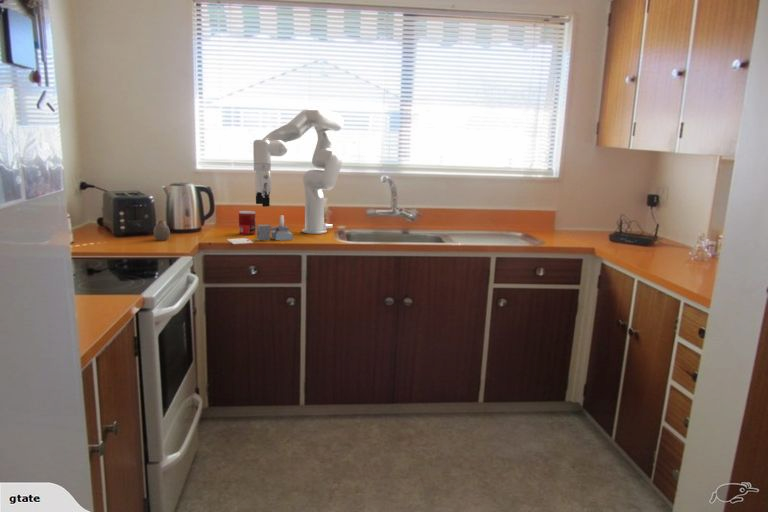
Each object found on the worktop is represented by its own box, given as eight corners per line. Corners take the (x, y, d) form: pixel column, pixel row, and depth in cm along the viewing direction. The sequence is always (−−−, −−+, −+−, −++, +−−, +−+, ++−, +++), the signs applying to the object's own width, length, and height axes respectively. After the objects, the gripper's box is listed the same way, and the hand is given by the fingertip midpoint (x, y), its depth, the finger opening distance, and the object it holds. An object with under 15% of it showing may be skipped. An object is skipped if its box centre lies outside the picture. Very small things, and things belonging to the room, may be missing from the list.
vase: (150, 240, 249) (149, 220, 247) (162, 238, 255) (161, 219, 253) (161, 241, 246) (160, 222, 244) (173, 239, 252) (172, 220, 250)
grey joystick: (287, 237, 267) (287, 214, 265) (292, 239, 261) (292, 216, 259) (271, 238, 263) (271, 215, 261) (276, 240, 257) (276, 217, 255)
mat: (246, 238, 259) (246, 238, 259) (253, 243, 250) (253, 242, 250) (227, 240, 255) (227, 239, 254) (233, 244, 245) (233, 243, 245)
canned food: (253, 235, 269) (253, 213, 267) (237, 234, 269) (236, 212, 267) (257, 232, 276) (257, 211, 274) (241, 232, 276) (241, 210, 274)
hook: (260, 241, 254) (259, 226, 253) (256, 239, 258) (256, 224, 257) (288, 239, 261) (288, 224, 260) (285, 237, 265) (285, 223, 264)
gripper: (276, 168, 245) (276, 207, 249) (264, 166, 260) (264, 202, 263) (259, 168, 242) (260, 207, 245) (248, 166, 256) (249, 203, 260)
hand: (262, 205), depth 254 cm, fingers open, 9 cm apart
